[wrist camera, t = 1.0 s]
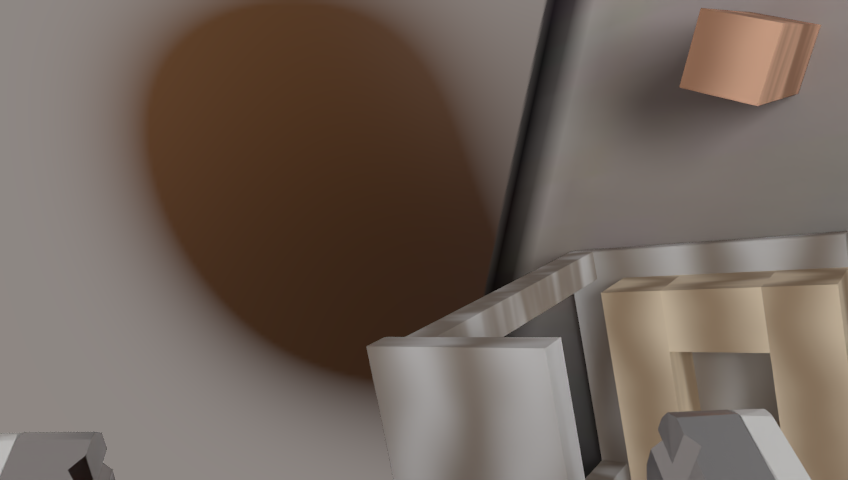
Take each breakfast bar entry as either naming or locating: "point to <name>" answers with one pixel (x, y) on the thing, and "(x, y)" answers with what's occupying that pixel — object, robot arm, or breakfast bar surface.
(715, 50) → the peg
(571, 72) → the breakfast bar surface
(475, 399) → the grey open box frame
